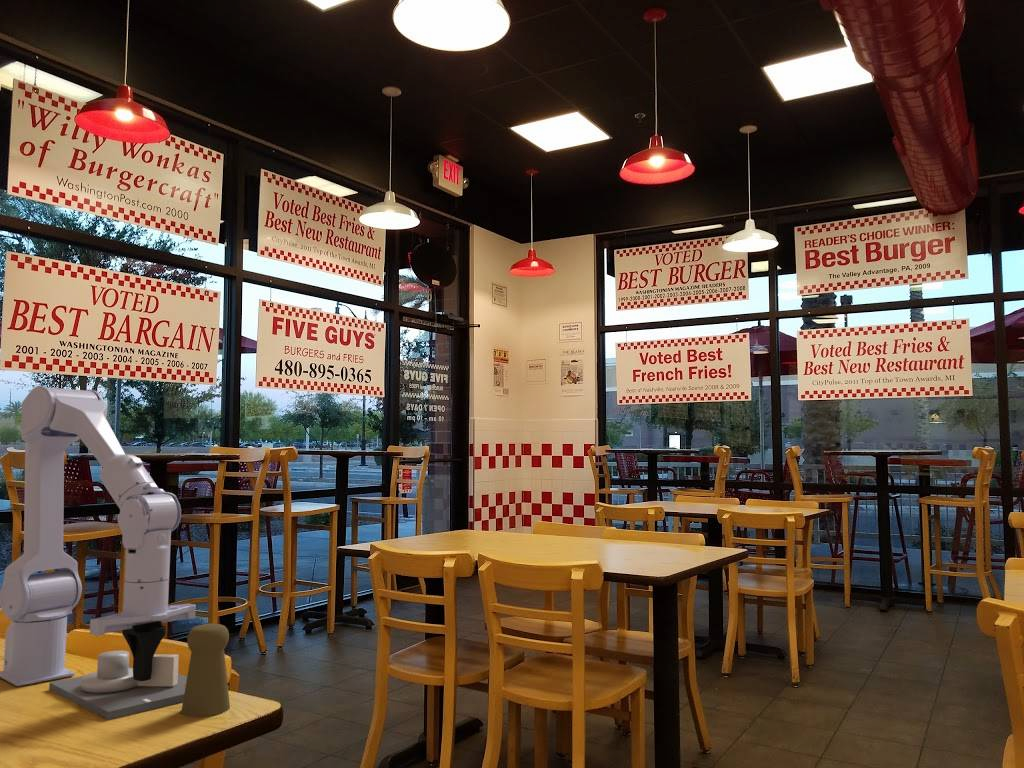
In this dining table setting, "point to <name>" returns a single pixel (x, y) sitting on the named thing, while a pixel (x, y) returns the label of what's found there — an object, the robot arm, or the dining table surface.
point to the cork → (206, 672)
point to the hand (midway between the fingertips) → (142, 679)
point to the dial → (128, 673)
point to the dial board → (120, 697)
